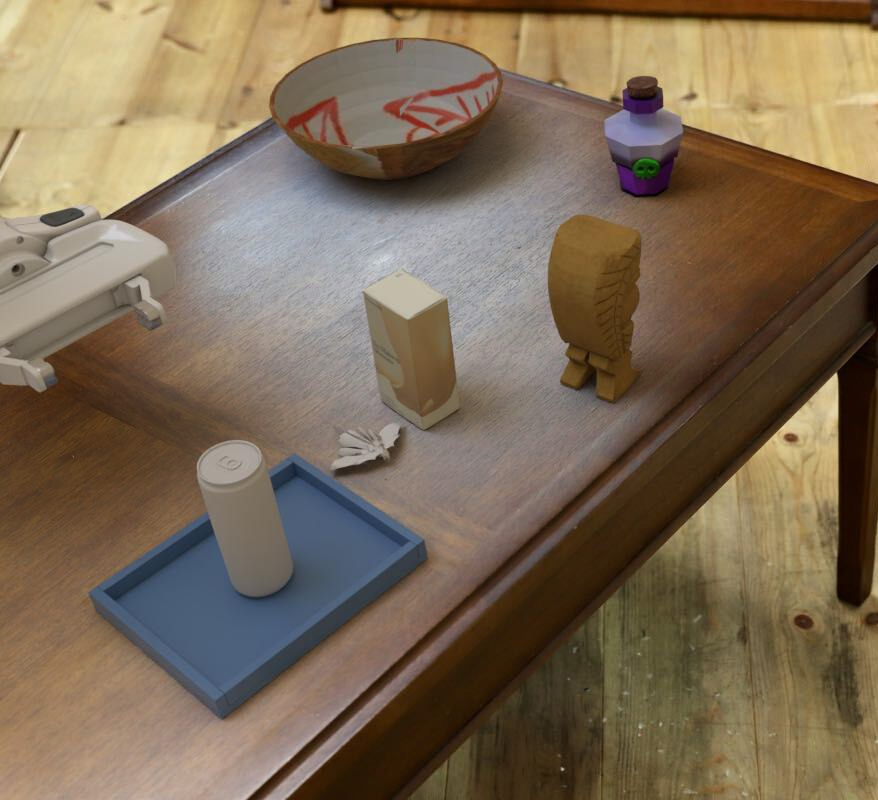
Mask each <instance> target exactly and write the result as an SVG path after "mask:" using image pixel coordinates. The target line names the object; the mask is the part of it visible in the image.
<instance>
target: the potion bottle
mask: <svg viewBox="0 0 878 800" xmlns="http://www.w3.org/2000/svg"><path fill="white" fill-rule="evenodd" d="M658 85H659V81H658V78H657V77H655V76H651V75H638V76H634V77H631V78H630V79H628V80H627V81H626V87H625V88H623V89H622V90H621V91H622V110H620V111H618V112H616V113H615V114H612V115H611V116H609V117H607V118H605V119H604V135H605V136H604V137H605V140H606V143H607V148H608V150H609V155H610V158H611V161H612V163H614V164H615V166H616V167H615V168H616V169H617V173H618V177H619V187H620V191H621V192H624V193H625V194H628V195H631V196H632V197H634V198H645V197H647V198H648V197H649V198H650V197H657V196H659V195H661V194H662V193H664V192H666V191H667V190H669V189H670V188H671V185H670V181H671V177H672V172H673V168H674V164H675V158H677V157H678V156H679V151H680V148H681V143H682V139H683V135H684V129H683V121H682V116H681V115H678V114H677V113H673V112H671V111H669V110H667V109H664V91H663V88H662V87H660V86H658Z"/></svg>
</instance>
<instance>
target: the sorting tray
mask: <svg viewBox="0 0 878 800" xmlns="http://www.w3.org/2000/svg"><path fill="white" fill-rule="evenodd" d="M268 472H269V476H270V480H271V484H272V487H273V491H274V495H275V499H276V502H277V506H278V510H279V514H280V517H281V521H282V525H283V529H284V532H285V536H286V540H287V543H288V547H289V551H290V555H291V558H292V562H293V573H292V575H291V578H290V579H289V581H288V582H287V583H286V584H285V586H284V587H282V588H281V589H280V590H279V591H277V592H275V593H273V594H271V595H268V596H264V597H249V596H246V595H243V594H241V593H239V592H238V591H237V590H236V589H235V588H234V587H233V585H232V583H231V581H230V577H229V574H228V571H227V568H226V565H225V562H224V559H223V556H222V553H221V550H220V547H219V545H218V542H217V539H216V536H215V533H214V530H213V527H212V524H211V521H210V517H209V514H208V511H206V512H204V513H203V514H202V515H200V516H199V517H197V518H196V519H194V520H193V521H191V522H190V523H189V524H187V525H185V526H184V527H183V528H181V529H180V530H178V531H177V532H176V533H175V532H174V534H172V535H171V536H169V537H168V538H166V539H165V540H163V541H162V542H160V543H159V544H158V545H156V546H154V547H153V548H152V549H150V550H148V551H147V552H146V553H144V554H143V555H141V556H140V557H138V558H136V559H135V560H134V561H132V562H131V563H130V564H128V565H126V566H124V567H123V568H122V569H120V570H119V571H118V572H116V573H114V574H113V575H112V576H109V578H107V579H106V580H103V582H101V583H99V584H98V585H97V586H95V587H93V588H92V589H90V590H89V591H88V592H87V593H88V596H89V598H90V600H91V603H92V605H93V608H94V610H95V612H96V613H98V614H99V615H100V616H101V617H102V618H103V619H104V620H105V621H107V622H108V623H109V624H110V625H112V626H113V627H114V628H115V629H116V630H117V631H119V633H121V634H122V635H123V636H124V637H125V638H127V639H128V640H129V641H130V642H131V643H132V644H133V645H135V646H136V647H137V648H138V649H139V650H140V651H141V652H143V653H144V654H145V655H146V656H148V657H149V658H150V659H151V660H152V661H153V662H154V663H156V664H157V665H158V666H159V667H160V668H161V669H163V670H164V672H166V673H167V674H168V675H170V676H171V677H172V678H173V679H174V680H175V681H177V682H178V683H179V684H180V685H181V687H183V688H185V689H186V690H187V691H188V692H189V693H190V694H191V695H193V696H194V697H195V698H196V699H197V700H199V702H200V703H202V704H203V705H204V706H205V707H206V708H208V709H209V710H210V711H211V712H213V713H214V714H215V715H216V716H217V717H218V718H219V719H220V720H223V719H224V718H225V717H227V716H229V714H231V713H232V712H233V711H234V710H236V709H237V708H239V706H241V705H242V704H243V703H245V702H246V701H247V700H249V699H250V698H251V697H252V696H254V695H255V694H256V693H258V692H259V691H260V690H261V689H263V688H264V687H265V686H266V685H268V684H269V683H270V682H272V681H273V680H274V679H275V678H277V677H278V676H280V674H282V673H283V672H285V670H287V669H288V668H290V667H291V666H292V665H293V664H295V663H296V662H297V661H298V660H300V659H301V658H302V657H304V656H305V655H306V654H308V653H309V652H310V651H311V650H313V649H314V648H315V647H316V646H317V645H319V644H320V643H321V642H323V641H324V640H326V639H327V638H328V637H329V636H330V635H332V634H333V633H334V632H336V631H337V630H338V629H339V628H340V627H342V626H343V625H344V624H346V623H347V622H348V621H350V620H351V619H352V618H353V617H355V616H356V615H357V614H359V612H361V611H362V610H363V609H365V608H366V607H367V606H368V605H371V603H372V602H374V601H375V600H376V599H378V598H379V597H380V596H381V595H383V594H384V593H385V592H387V591H388V590H389V589H390V588H391V587H393V586H394V585H395V584H397V583H398V582H399V581H401V580H403V578H404V577H406V576H407V575H408V574H410V573H411V572H412V571H413V570H415V569H416V568H417V567H418V566H420V565H421V564H422V563H423V562H425V561H426V560H428V552H427V546H426V542H425V539H424V538H423V537H421V536H420V535H418V534H417V533H415V532H414V531H412V530H411V529H409V528H408V527H406V526H404V525H403V524H402V523H400V522H399V521H398V520H396V519H394V518H393V517H392V516H390V515H388V514H387V513H385V512H383V510H380V508H378V507H376V506H375V505H373V504H372V503H370V502H368V501H367V500H366V499H364V498H363V497H361V496H360V495H359V494H357V493H355V492H353V490H351V489H349V488H348V487H346V486H345V485H344V484H342V483H340V482H339V481H337V480H336V479H334V478H333V477H332V476H330V475H328V474H327V473H325V472H324V471H322V470H321V469H320V468H318V467H316V466H315V465H313V464H312V463H310V461H309V462H308V461H307V460H306V459H304V458H303V457H301V456H300V455H298V454H297V453H292V454H291V455H289V456H288V457H286V458H285V459H283V460H282V461H280V462H279V463H278V464H276V465H274V466H273V467H271V468H270V469H268Z"/></svg>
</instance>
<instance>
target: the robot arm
mask: <svg viewBox="0 0 878 800" xmlns="http://www.w3.org/2000/svg"><path fill="white" fill-rule="evenodd" d="M177 282H178V272H177V267H176V263H175V261H174V256H173V254H172V252H171V249H170V247H169V246H168V245H167V244H166V243H165V242H164V241H163V240H161V239H159V238H158V237H156V236H155V235H153V234H151V233H149V232H148V231H145V230H144V229H141V228H139V227H138V226H135V225H133V224H130V223H128V222H125V221H123V220H118V219H103V218H102V216H101V214H100V212H99V210H98V209H97V208H96V207H95V206H93V205H91V204H78V205H74V206H71V207H67V208H63V209H60V210H56V211H52V212H48V213H47V212H46V213H42V214H36V215H29V216H19V217H14V218H8V217H5V216H2V215H1V214H0V383H1V384H2V385H3V386H4V385H5V386H23V387H24V386H29V387H31V388H32V389H33V390H35V391H36V392H37V393H42V392H44V391H46V390H48V389H49V388H51V387H53V386H55V385H57V384H58V383H59V380H58V377H56V375H55V374H56V372H55V368H54V366H52V365H51V364H50V363H49V362H48V361H45V358H47V357H50V356H52V355H53V354H55V353H57V352H59V351H60V350H62V349H64V348H66V347H68V346H70V345H72V344H73V343H76V342H77V341H79V340H81V339H83V338H84V337H86V336H89V335H90V334H92V333H94V332H95V331H98V330H99V329H101V328H103V327H105V326H106V325H108V324H111V323H112V322H114V321H116V320H118V319H119V318H121V317H123V316H125V315H127V314H130V313H131V312H133V311H135V313H136V314H137V316H136V318H137V321H138V324H139V325H140V326H141V327H143V328H146V329H147V331H149V332H151V331H153V330H155V329H157V328H159V327H160V326H163V325H165V324H167V323H168V318H167V317H168V316H167V313H166V310H165V308H164V306H163V304H162V303H160V302H159V301H157V300H156V299H157V298H158V297H160V296H163V295H165V294H166V293H168V292H170V291H172V290H174V289H175V287H176V286H177Z"/></svg>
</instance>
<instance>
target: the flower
mask: <svg viewBox="0 0 878 800" xmlns="http://www.w3.org/2000/svg"><path fill="white" fill-rule="evenodd" d="M402 422H403V420H400V421H395V422H391V423H389V424H387V425H385V426H384V427H383V428H382V429H381V430H380V431H379V432H378V434H379V437H381V440H379V438H378V437H377V435H376V433H375V432H374V430H373V429H368V430H367V431H368V433H369V435H370V436H371V437H372V438H371V437H370V436H369V435H368V433H367V432H366V430H365V429H364V428H363V427H361V426H359V425H358V426H357V429H358V430H359V431H360V432H361V433H362V434H363V435H365V436H366V437H367V438H368V439H369V440H368V439H367V438H366V437H363V436H362V435H361V434H360V433H359V432H357V431H355V430H353V429H347V431H344V430H343V429H342V428H340V427H339V426H336V425H332V426H331V428H332V429H333V430H334V431H335V432H336V433H337V434H339V439H338V440H337V441H338V442H339V444H340V445H341V446H343V447H342V448H339V450H338V451H337V454H338V455H339V456H341V457H340V458H338V459H336V460H334V461H333V462H332V463H331V465H330V466H329V471H334V470H337V469H340V468H341V469H342V468H345V467H348V466H353V465H354V466H356V465H360V464H362V463H364V462H366V461H370V460H373V461H375V460H376V459H377V458H378V457H381V458H383V460H388V461H387V462H388V463H391V461H390V459H391V456H390V452H389V451H388V449H389V448H391V447H395V444H394V443H395V441H396V440H397V439H398V438H399V437H400V436H401V434H399V431H400V427H401V425H402Z"/></svg>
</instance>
